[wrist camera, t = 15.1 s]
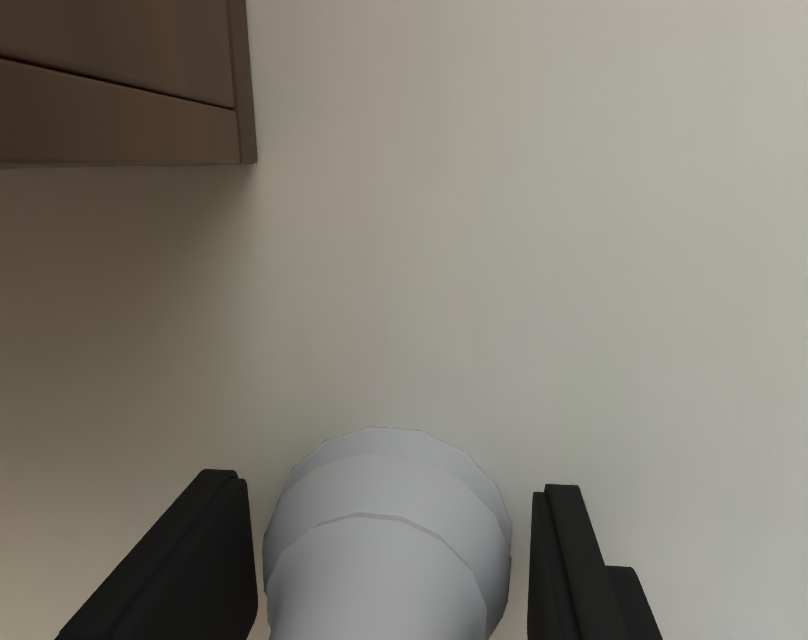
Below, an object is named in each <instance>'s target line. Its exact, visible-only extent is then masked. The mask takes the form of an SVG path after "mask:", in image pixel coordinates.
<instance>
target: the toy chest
mask: <svg viewBox="0 0 808 640" xmlns="http://www.w3.org/2000/svg"><path fill="white" fill-rule="evenodd" d="M255 163H257V147H256V134H255V121H254V108H253V95H252V82H251V70H250V57H249V44H248V31H247V18H246V5H245V0H0V169H32V168H89V167H147V166H205V165H253V164H255Z"/></svg>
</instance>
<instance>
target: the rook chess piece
mask: <svg viewBox="0 0 808 640" xmlns="http://www.w3.org/2000/svg"><path fill="white" fill-rule="evenodd" d="M511 535H512V525H511V522H510V519H509V517H508V514H507V511H506V509H505V506H504V503H503V501H502V498H501V495H500V493H499V490H498V487H497V485H496V484H495V483H494V482H493V481H492V480H491V479H490V478H489V477H488V476H487V475H486V474H485V473H484V472H483V471H482V469H481V468H480V467H479V466H478V465H477V464H476V463H475V462H474V461H473V460H472V459H471V458H470V457H469V456H468V455H467V454H466V453H465V452H464V451H463V450H460V449H458V448H456V447H454V446H452V445H450V444H447V443H445V442H443V441H441V440H439V439H437V438H434V437H432V436H430V435H428V434H426V433H424V432H422V431H419V430H409V429H396V428H383V427H367V428H363V429H360V430H357V431H354V432H350V433H347V434H344V435H341V436H337V437H334V438H331V439H328V440H325V441H324V442H323V443H322V444H320V445H319V446H318V447H317V448H316V449H315V450H313V451H312V452H311V453H310V454H309V455H308V456H306V457H305V458H304V459H303V460H302V461H301V462H299V463H298V464H297V465H296V466H295V467H294V468H293V469H292V471H291V473H290V476H289V478H288V480H287V482H286V485H285V487H284V489H283V491H282V494H281V496H280V498H279V500H278V503H277V505H276V509H275V511H274V513H273V515H272V518H271V520H270V522H269V524H268V527H267V529H266V531H265V534H264V539H263V548H262V557H263V582H264V592H265V594H266V596H267V613H268V623H269V625H270V627H271V629H272V630H271V634H270V638H269V640H488V639H489V638H490V636H491V634H492V633H493V631H494V630H495V628H496V626H497V625H498V623H499V621H500V620H501V618H502V617H503V614H504V611H505V608H506V605H507V602H508V592H509V581H510V570H511V556H510V547H511Z"/></svg>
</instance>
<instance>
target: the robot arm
mask: <svg viewBox="0 0 808 640" xmlns="http://www.w3.org/2000/svg"><path fill="white" fill-rule="evenodd" d="M257 610H258V594H257V583H256V573H255V562H254V552H253V541H252V531H251V520H250V509H249V499H248V488H247V483H246V480H245V479H240V478H238V475H237V473H236V472H235V471H234V470H215V469H204V470H202V471H201V472H200V473H199V474H198V475H197V476H196V478H195V479H194V480H193V481H192V482H191V483H190V484H189V486H188V487H187V488H186V489H185V490H184V491H183V492H182V493H181V495H180V496H179V497H178V498H177V499H176V500H175V501H174V502H173V504H172V505H171V506H170V507H169V508H168V509H167V510H166V512H165V513H164V514H163V515H162V516H161V517H160V518H159V519H158V521H157V522H156V523H155V524H154V525H153V526H152V527H151V529H150V530H149V531H148V532H147V533H146V534H145V535H144V536H143V538H142V539H141V540H140V541H139V542H138V543H137V544H136V545H135V547H134V548H133V549H132V550H131V551H130V552H129V553H128V555H127V556H126V557H125V558H124V559H123V560H122V561H121V562H120V564H119V565H118V566H117V567H116V568H115V569H114V570H113V571H112V573H111V574H110V575H109V576H108V577H107V578H106V579H105V581H104V582H103V583H102V584H101V585H100V586H99V587H98V588H97V590H96V591H95V592H94V593H93V594H92V595H91V596H90V598H89V599H88V600H87V601H86V602H85V603H84V604H83V605H82V607H81V608H80V609H79V610H78V611H77V612H76V613H75V614H74V616H73V617H72V618H71V619H70V620H69V621H68V622H67V624H66V625H65V626H64V627H63V628H62V629H61V630H60V631H59V633H60V634H59V635H58V636H57V637H56V638H55V639H54V640H246V639H247V637H248V635H249V632H250V630H251V628H252V626H253V624H254V621H255V619H256V615H257ZM527 636H528V640H663V639H662V636H661V634H660V631H659V629H658V626H657V624H656V621H655V619H654V616H653V614H652V611H651V609H650V606H649V604H648V601H647V599H646V596H645V594H644V591H643V589H642V586H641V584H640V581H639V579H638V576H637V574H636V573H635V571H634V569H633V568H631V567H621V566H605V564H604V561H603V558H602V555H601V552H600V549H599V546H598V543H597V540H596V537H595V534H594V531H593V528H592V525H591V522H590V519H589V516H588V513H587V510H586V507H585V504H584V501H583V498H582V495H581V491H580V489H579V486H577V485H556V484H546V485H545V489H544V492H534V493H533V502H532V524H531V546H530V568H529V590H528V612H527Z"/></svg>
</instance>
